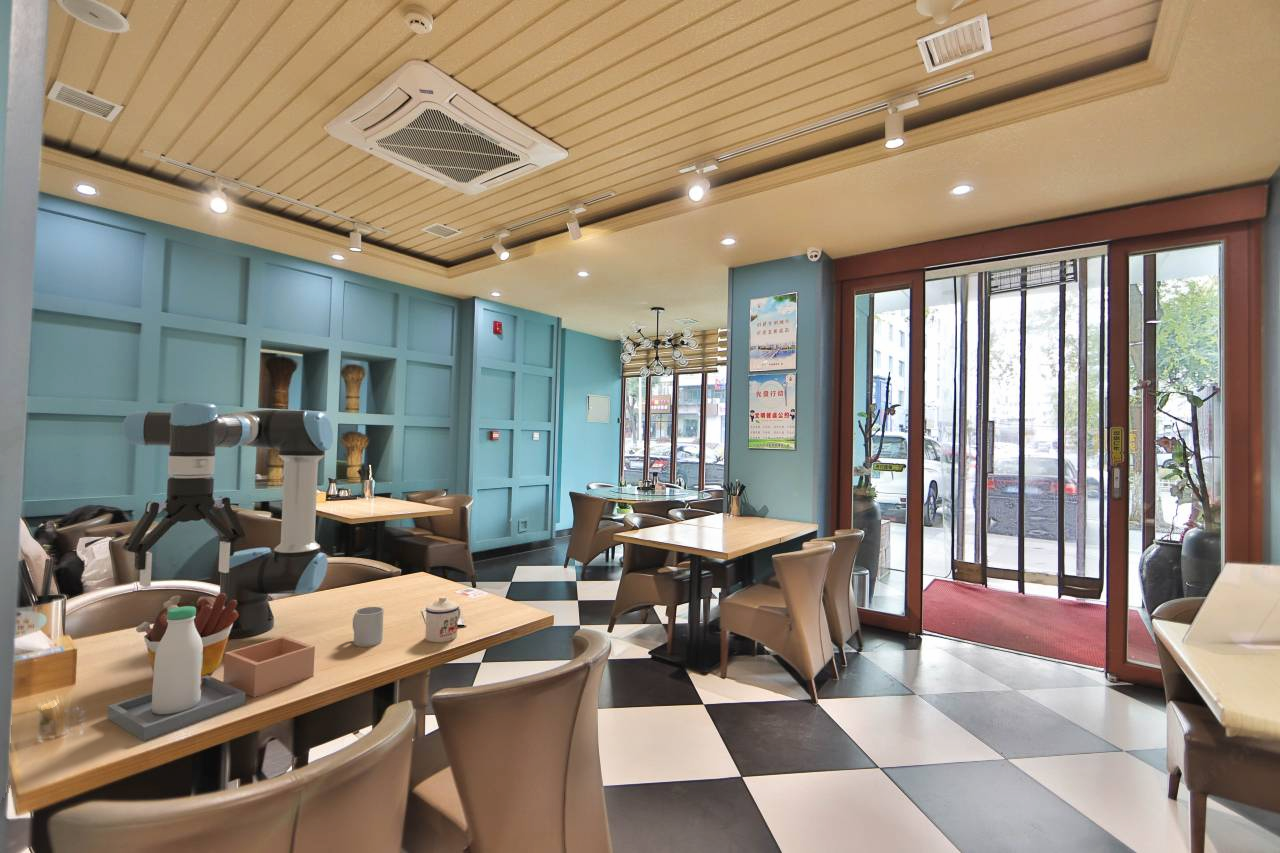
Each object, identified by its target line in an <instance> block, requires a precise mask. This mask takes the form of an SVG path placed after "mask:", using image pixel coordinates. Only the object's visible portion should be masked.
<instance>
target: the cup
mask: <svg viewBox="0 0 1280 853" xmlns="http://www.w3.org/2000/svg"><path fill="white" fill-rule="evenodd" d="M352 630H353V632H354V633H353V645H356V646H355V647H357V646H359V647H358V648H369V646H370V647H374V646H377V645H379V644H381V642H382V641H383V632H384V608H383V607H380V606H367V607H361V608H358V609H356V610H355V611H354V615H353V618H352ZM373 645H374V646H373Z"/></svg>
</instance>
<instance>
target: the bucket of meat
mask: <svg viewBox="0 0 1280 853" xmlns="http://www.w3.org/2000/svg"><path fill="white" fill-rule="evenodd" d="M181 598H182V597H181V596H180V595H178V594H177V595H173V596H171V597H170V599H169V600H168V601H165V602H164V603H163V608H164V609H162V610H161V611H159V612H158V615H157V616H156V618H155V621H154V623H153V625H152V628H151V623H150V622H147V621H143V622H142V623H141V624H139V625H138V626H136V629H135V631H136V632H137V633H144V632H145V633H146V634H145V635H144V636H143V637H144V642H145V645H146V649H147V652H148V656H149V661H150V664H151V670H152V672H153V673H152V674H153V675H154V662H155V654H156V650H157V647H158V645H159V643H160V641H161V639H162V638H163V636H164V634H165V632H166V629H167V627H168V622H167V612H168V611H169V610H170V609H173V608H177V607H184V606H193V607H195V608H196V614H195V618H194V624H195V627H196V630H197V632H198V633H199V635H200V637H201V640H202V645H203V662H202V677H203V676H206V675H209V676H210V675H212V674H213V673H214V672H215V670H217V668H218V667H219V665H221V662H222V659H223V655H224V654H225V649H226V646H227V643H228V640H229V639H228V637H229V634H230V630H231V628H232V625H233V622H234V621H235V620H236V619H237V617H238V616H239V614H238V613H237V611H236V610H234V609H235V607H236V605H237V601H236V600H231V601H230V602H228V604H227V605H226V607H224V604H225V601H226V599H227V596H226V594H225V593H220V592H219V594H218V595H216V596H202V595H201V596H200V597H198V598H197V601H196V603H195V602H194V601H195V600H188V601H184V602H181V603H179V602H180V601H181Z"/></svg>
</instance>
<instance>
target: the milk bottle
mask: <svg viewBox="0 0 1280 853" xmlns="http://www.w3.org/2000/svg"><path fill="white" fill-rule="evenodd" d="M195 614H196V608H195V607H193V606H184V607H177V608H173V609H170V610H169V611H168V612H167V622H168V627H167V629H166V632H165V634H164V636H163V638H162V639H161V641H160V643H159V645H158V647H157V650H156V654H155V662H154V674H153V678H152V691H151V692H152V711H153V713H155V714H158V715H167V714H174V713H178V712H182V711H185V710H188V709H190V708H192V707H194V706H196V705H197V704H198V703H199V701H200V698H201V683H202V662H203V645H202V640H201V637H200V635H199V633H198V632H197V630H196V627H195V624H194V618H195Z"/></svg>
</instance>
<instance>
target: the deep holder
mask: <svg viewBox="0 0 1280 853" xmlns="http://www.w3.org/2000/svg"><path fill="white" fill-rule="evenodd" d="M315 649H316V646H314V645H312V644H309V643H305V642H302V641H299V640H296V639H294V638H290V637H288V636H285V635H282V636H280V637H276V638H272V639H268V640H266V641H265V640H264V641H262V642H258V643H255V644H251V645H248V646H244V647H241V648H238V649H233V650H231V651H227V652H224V660H223V662H224V663H223V680H222V682H224V683H227V684H229V685H231V686H233V687H235V688H238V689H240V690H242V691H244V692H246V695H247V696H249V695H250V697H252V698H256V696H257V697H259V696H262V694H263V695H265V694H268V693H270V691H271V692H273V690H274V691H276V690H279V689H282V688H284V686H285V687H287V686H290V685H292V684H291V683H293V684H295V683H294V682H296V683H298V682H300V681H299V680H301V681H303V680H302V679H304V680H306V679H305V678H307V679H309V678H312V677H314V675H315V674H314V672H315ZM297 681H298V682H297ZM289 684H290V685H289ZM286 685H287V686H286ZM281 687H282V688H281ZM278 688H279V689H278ZM275 689H276V690H275Z"/></svg>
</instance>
